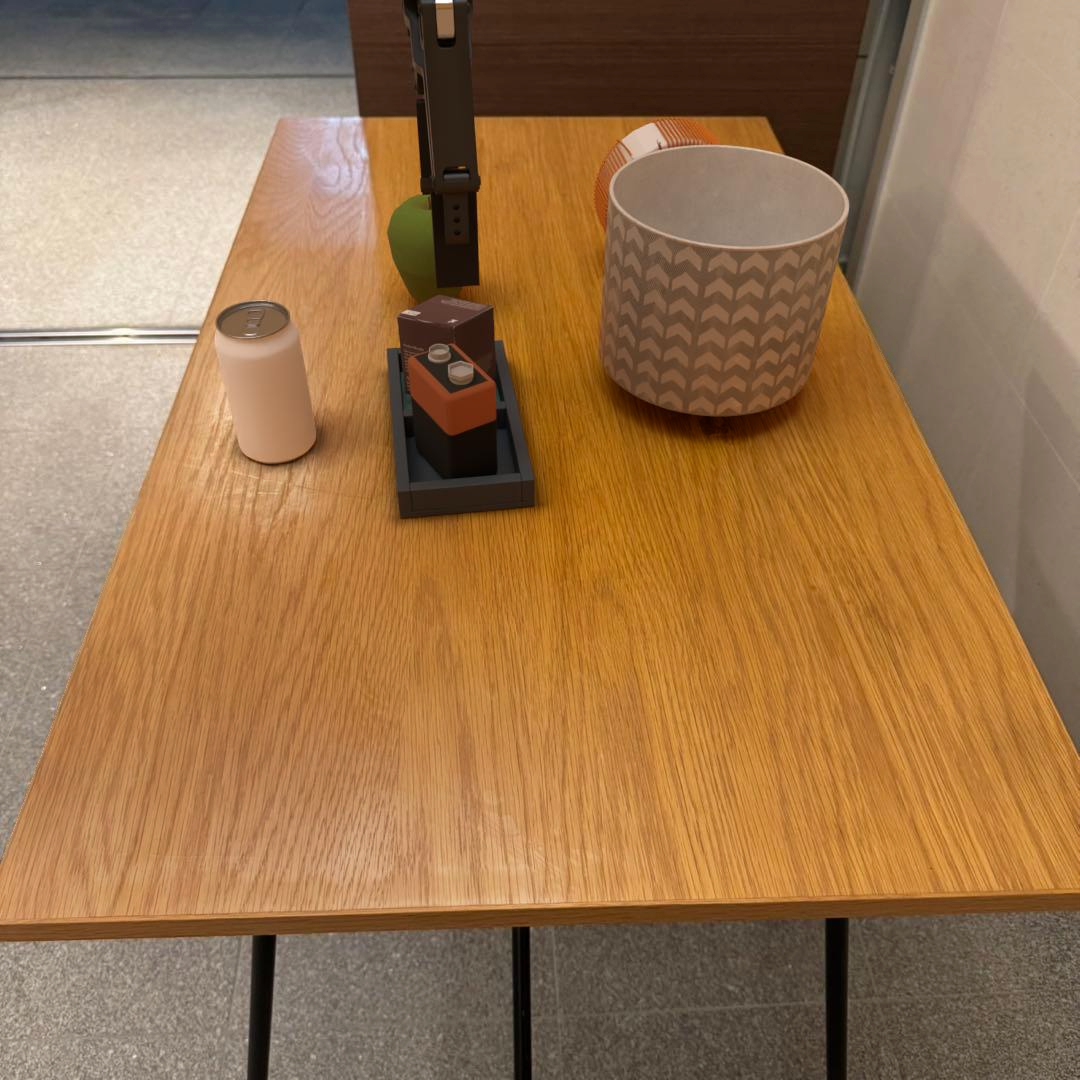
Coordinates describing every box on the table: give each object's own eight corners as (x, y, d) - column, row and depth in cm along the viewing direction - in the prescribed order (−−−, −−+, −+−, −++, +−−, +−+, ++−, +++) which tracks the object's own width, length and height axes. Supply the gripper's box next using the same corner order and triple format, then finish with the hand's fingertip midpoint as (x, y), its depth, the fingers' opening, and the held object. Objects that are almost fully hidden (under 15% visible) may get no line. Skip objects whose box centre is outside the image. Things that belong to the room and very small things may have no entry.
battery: (453, 494, 79) (446, 389, 72) (413, 449, 83) (403, 346, 76) (500, 475, 81) (498, 371, 74) (459, 432, 85) (453, 330, 78)
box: (498, 385, 89) (496, 305, 85) (458, 410, 84) (453, 327, 80) (444, 371, 91) (439, 293, 87) (402, 394, 87) (395, 313, 83)
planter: (598, 441, 85) (611, 244, 73) (596, 324, 99) (606, 141, 87) (821, 448, 85) (872, 251, 73) (787, 329, 99) (826, 146, 86)
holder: (400, 518, 78) (397, 491, 76) (389, 374, 92) (386, 348, 90) (534, 506, 79) (534, 479, 77) (502, 365, 94) (502, 339, 92)
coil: (589, 255, 110) (596, 117, 99) (720, 245, 112) (741, 109, 101) (603, 286, 105) (611, 145, 94) (740, 276, 107) (763, 136, 96)
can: (234, 468, 82) (203, 342, 74) (244, 421, 87) (215, 298, 79) (314, 464, 83) (291, 339, 74) (320, 418, 87) (299, 295, 79)
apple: (487, 320, 99) (484, 210, 91) (403, 332, 98) (393, 220, 90) (467, 278, 105) (462, 171, 98) (388, 289, 104) (377, 181, 96)
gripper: (353, -175, 62) (386, 162, 77) (363, -81, 44) (403, 335, 59) (474, -176, 63) (483, 157, 77) (531, -85, 45) (529, 327, 60)
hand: (448, 235), depth 68 cm, fingers open, 13 cm apart
